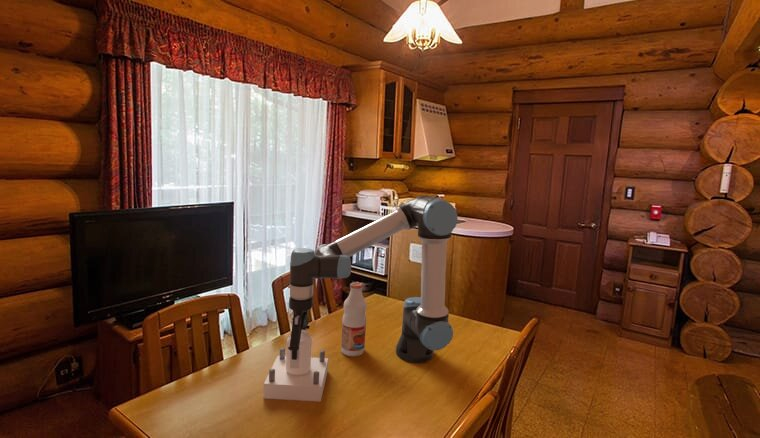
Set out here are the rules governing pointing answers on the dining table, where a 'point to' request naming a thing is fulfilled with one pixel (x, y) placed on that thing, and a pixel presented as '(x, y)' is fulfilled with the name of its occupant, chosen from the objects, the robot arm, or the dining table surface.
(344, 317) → the fruit juice
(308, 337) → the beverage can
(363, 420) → the dining table surface
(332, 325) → the dining table surface
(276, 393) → the peg stand
